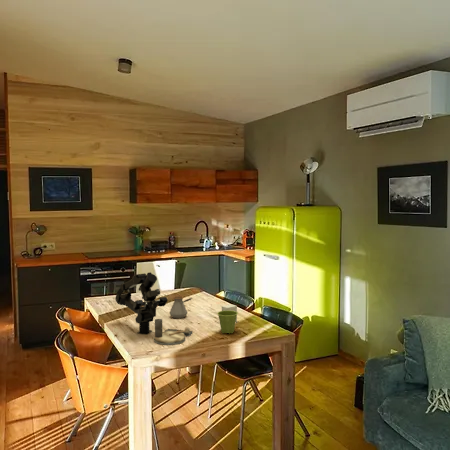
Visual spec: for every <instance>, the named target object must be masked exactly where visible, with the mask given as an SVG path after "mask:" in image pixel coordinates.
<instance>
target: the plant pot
mask: <svg viewBox="0 0 450 450" xmlns="http://www.w3.org/2000/svg"><path fill="white" fill-rule="evenodd" d="M216 314H217V316H218V320H219V326H220V331H221V333H222V334H224V333H229V334H233V332H234V333H235V327H236V323H237V322H236V317H237V318H238V314H239V312H238V311H237V312H236V311H229V310H227V311H222V310H220V311H218V312H217V313H216ZM235 322H236V323H235Z"/></svg>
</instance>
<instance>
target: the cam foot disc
mask: <svg viewBox="0 0 450 450" xmlns="http://www.w3.org/2000/svg"><path fill="white" fill-rule="evenodd" d="M181 330H182V331H178V332H177V331H166V332H164V331H163V319H162V318H156V319H154V338H155V340H156V341H158V342H163V343H173V342H179V341H182V340H183V339H184V338H186V336H185V335H184V333H182V332H189V331H191V329H190V327H189V326H186V327H185V328H184V329H181Z"/></svg>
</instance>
